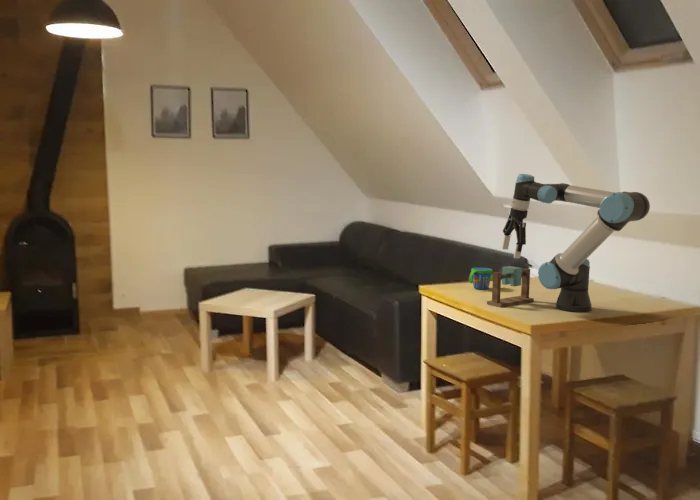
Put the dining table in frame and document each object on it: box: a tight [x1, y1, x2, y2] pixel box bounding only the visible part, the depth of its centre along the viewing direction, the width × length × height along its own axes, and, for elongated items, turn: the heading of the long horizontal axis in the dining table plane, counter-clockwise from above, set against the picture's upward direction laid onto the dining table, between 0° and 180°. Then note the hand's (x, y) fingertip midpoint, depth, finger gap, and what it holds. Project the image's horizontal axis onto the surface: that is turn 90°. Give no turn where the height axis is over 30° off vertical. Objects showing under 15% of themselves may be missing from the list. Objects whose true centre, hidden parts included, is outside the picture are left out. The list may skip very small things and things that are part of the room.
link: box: [501, 265, 523, 287], centre depth 332 cm, size 5×7×8 cm
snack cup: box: [468, 267, 494, 290], centre depth 369 cm, size 16×10×10 cm
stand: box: [486, 268, 535, 308], centre depth 333 cm, size 23×8×15 cm, turn 127°
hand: (510, 253), depth 332 cm, fingers open, 13 cm apart
